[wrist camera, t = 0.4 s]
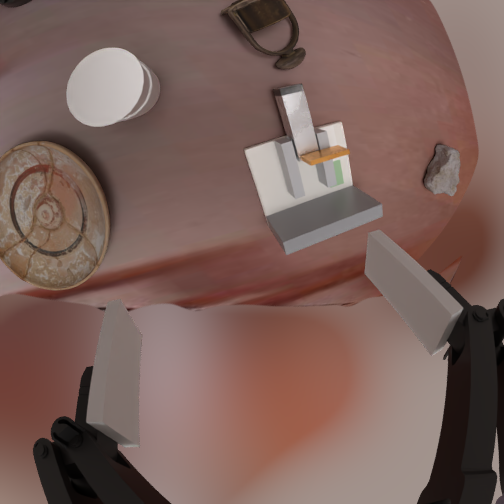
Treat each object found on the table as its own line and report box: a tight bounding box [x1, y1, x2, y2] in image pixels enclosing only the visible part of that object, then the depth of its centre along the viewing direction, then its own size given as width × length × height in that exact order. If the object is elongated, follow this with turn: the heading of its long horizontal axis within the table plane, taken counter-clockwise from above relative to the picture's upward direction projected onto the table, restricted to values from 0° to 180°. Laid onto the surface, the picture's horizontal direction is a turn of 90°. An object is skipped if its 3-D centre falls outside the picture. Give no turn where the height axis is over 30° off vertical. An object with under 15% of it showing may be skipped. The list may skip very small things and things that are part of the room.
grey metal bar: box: [273, 84, 350, 166], centre depth 31 cm, size 10×6×6 cm, turn 17°
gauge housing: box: [243, 121, 383, 255], centre depth 35 cm, size 12×15×9 cm
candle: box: [66, 48, 160, 127], centre depth 22 cm, size 7×7×15 cm
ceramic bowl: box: [0, 141, 110, 290], centre depth 31 cm, size 23×24×5 cm
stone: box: [424, 145, 460, 196], centre depth 41 cm, size 8×10×6 cm
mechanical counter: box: [221, 0, 306, 70], centre depth 24 cm, size 7×13×10 cm
